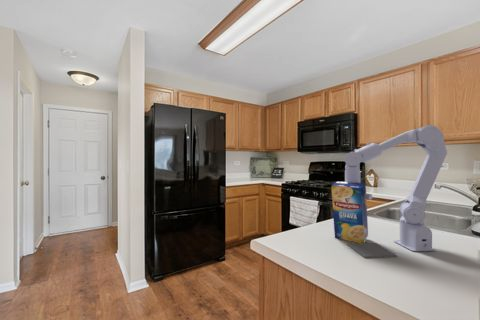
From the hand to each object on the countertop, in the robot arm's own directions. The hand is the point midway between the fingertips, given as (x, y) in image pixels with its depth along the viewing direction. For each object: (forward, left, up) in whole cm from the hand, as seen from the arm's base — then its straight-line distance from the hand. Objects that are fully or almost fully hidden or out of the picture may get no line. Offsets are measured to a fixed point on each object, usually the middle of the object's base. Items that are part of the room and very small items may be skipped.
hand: (352, 214), depth 94 cm
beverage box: (-1, +1, -9) cm, 9 cm away
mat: (-13, +1, -9) cm, 16 cm away
